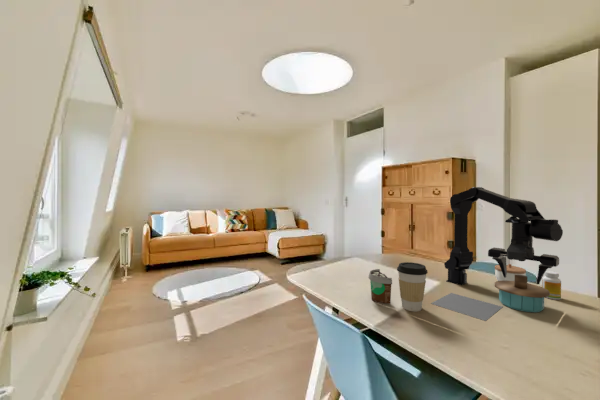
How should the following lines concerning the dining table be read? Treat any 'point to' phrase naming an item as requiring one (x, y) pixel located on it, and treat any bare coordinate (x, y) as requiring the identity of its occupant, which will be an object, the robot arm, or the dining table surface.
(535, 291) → the lid
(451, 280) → the robot arm
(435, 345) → the dining table surface
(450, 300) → the mat
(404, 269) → the coffee cup
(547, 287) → the supplement bottle
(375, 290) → the food container
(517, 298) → the bowl
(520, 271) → the lidded jar
